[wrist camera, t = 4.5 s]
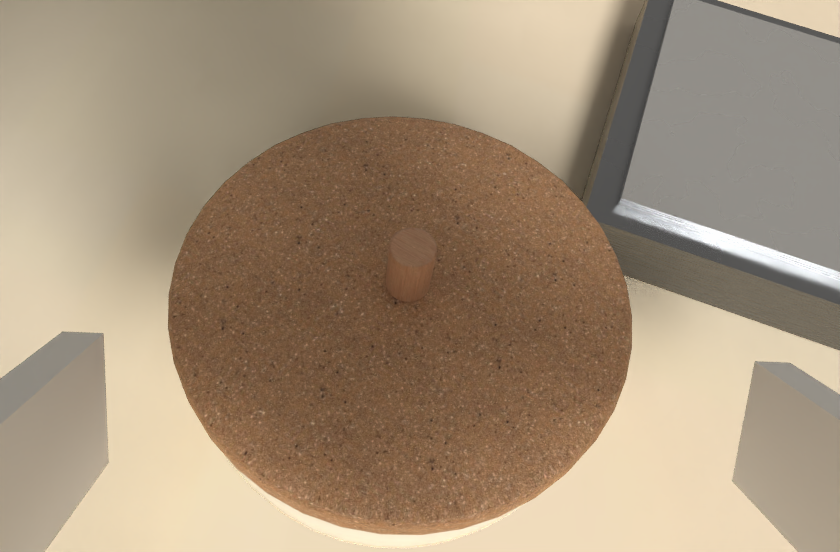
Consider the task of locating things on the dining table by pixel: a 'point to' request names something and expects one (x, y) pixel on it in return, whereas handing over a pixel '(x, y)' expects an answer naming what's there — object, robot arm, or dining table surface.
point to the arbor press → (727, 164)
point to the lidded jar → (399, 329)
